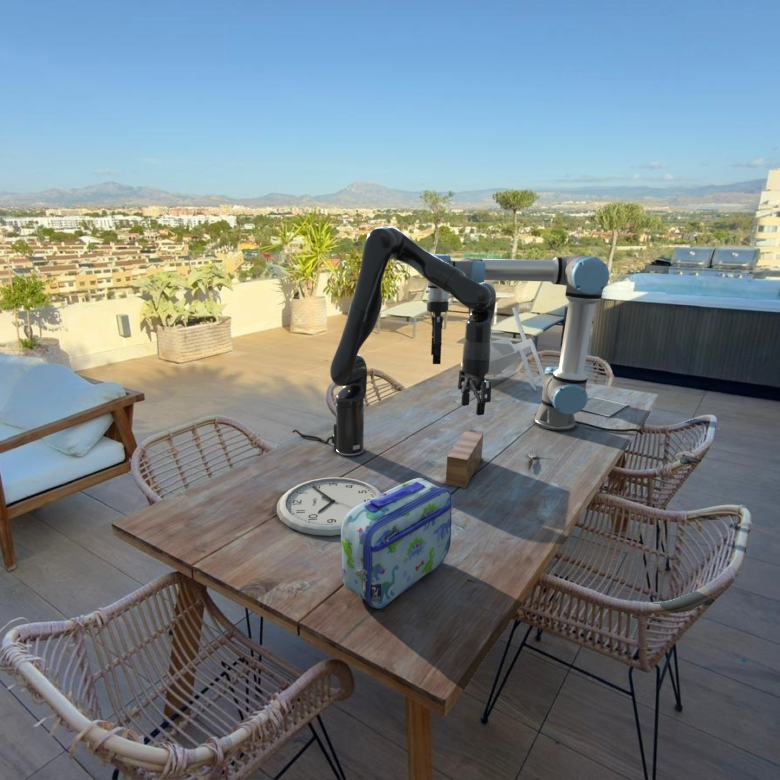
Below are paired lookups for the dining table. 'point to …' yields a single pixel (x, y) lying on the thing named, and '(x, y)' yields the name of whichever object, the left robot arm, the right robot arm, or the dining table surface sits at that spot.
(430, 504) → the lunch box
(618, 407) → the invitation card
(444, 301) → the right robot arm
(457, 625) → the dining table surface
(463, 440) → the box
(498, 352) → the white plastic object
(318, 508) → the wall clock
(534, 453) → the fork
